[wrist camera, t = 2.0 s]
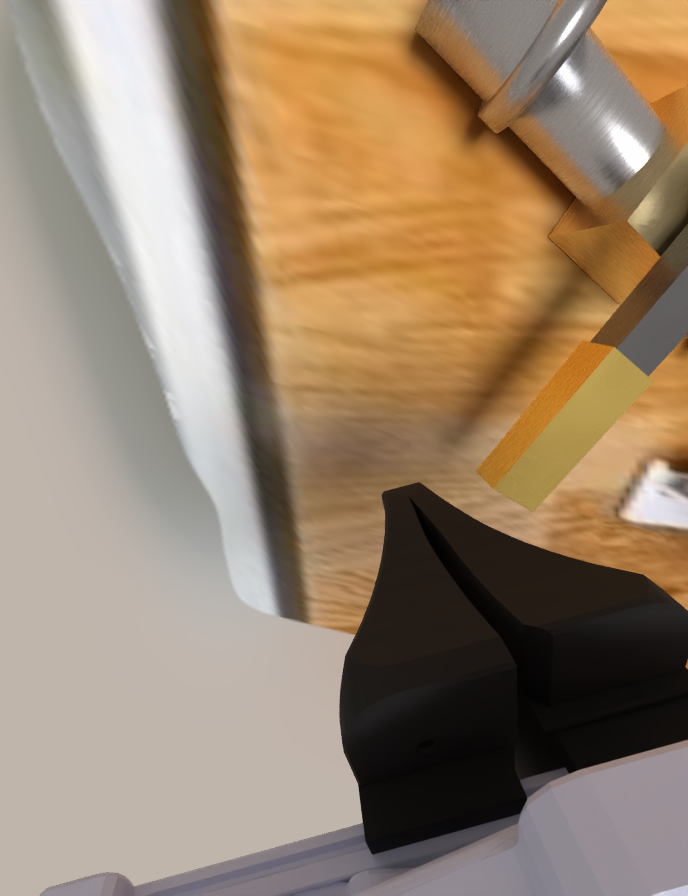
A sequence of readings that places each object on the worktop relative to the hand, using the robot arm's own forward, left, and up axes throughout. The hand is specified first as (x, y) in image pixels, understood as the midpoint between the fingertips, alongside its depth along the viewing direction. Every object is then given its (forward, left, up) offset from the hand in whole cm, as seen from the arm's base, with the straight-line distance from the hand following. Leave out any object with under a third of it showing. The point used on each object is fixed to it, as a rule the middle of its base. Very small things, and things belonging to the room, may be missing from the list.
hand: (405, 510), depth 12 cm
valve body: (+14, -4, -7) cm, 16 cm away
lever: (+9, -4, -2) cm, 10 cm away
